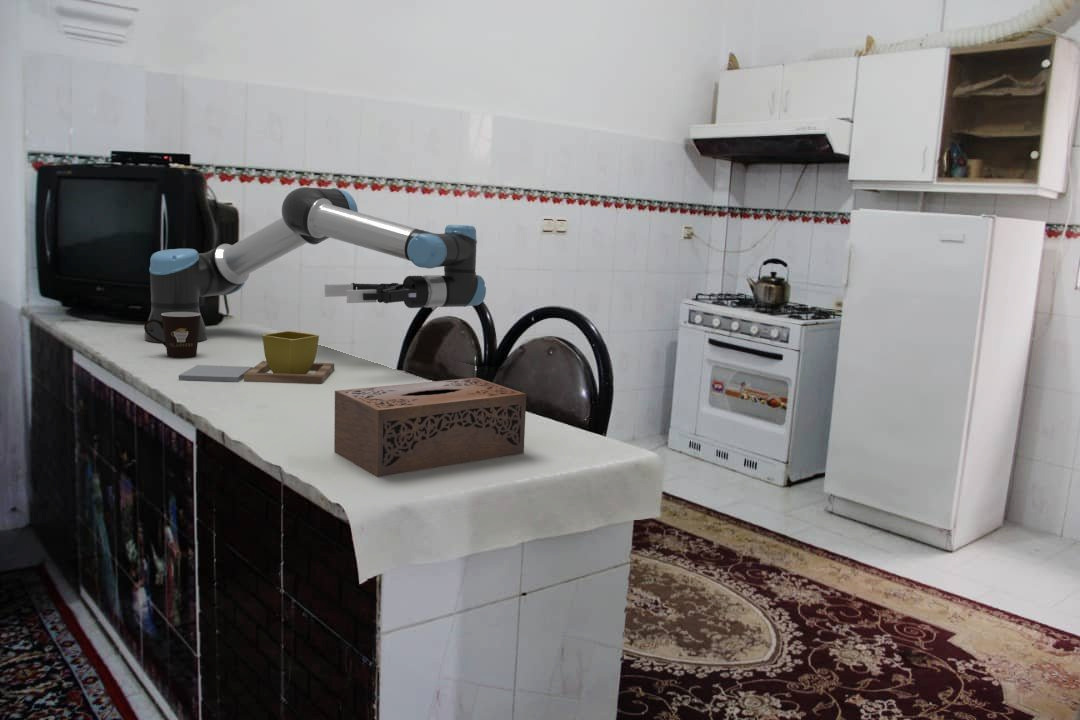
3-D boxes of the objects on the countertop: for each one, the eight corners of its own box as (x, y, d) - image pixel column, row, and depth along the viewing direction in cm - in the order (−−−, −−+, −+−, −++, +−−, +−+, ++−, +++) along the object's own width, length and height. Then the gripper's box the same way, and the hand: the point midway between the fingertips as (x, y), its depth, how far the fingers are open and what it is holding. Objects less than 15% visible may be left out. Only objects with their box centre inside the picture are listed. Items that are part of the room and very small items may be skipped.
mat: (197, 369, 196) (197, 364, 195) (252, 371, 196) (252, 366, 196) (178, 380, 184) (178, 375, 184) (237, 381, 185) (237, 377, 184)
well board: (262, 367, 201) (262, 360, 201) (334, 369, 202) (334, 363, 202) (243, 381, 186) (243, 374, 185) (321, 383, 187) (321, 376, 186)
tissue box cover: (474, 434, 153) (476, 377, 151) (523, 455, 141) (526, 393, 140) (334, 453, 137) (334, 390, 136) (377, 478, 126) (378, 410, 124)
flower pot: (320, 374, 196) (320, 334, 195) (293, 381, 188) (293, 339, 187) (288, 370, 200) (288, 330, 198) (261, 376, 192) (261, 334, 190)
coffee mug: (207, 354, 214) (207, 313, 213) (190, 360, 206) (189, 317, 204) (161, 351, 215) (160, 310, 214) (142, 357, 207) (141, 314, 205)
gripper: (447, 313, 198) (357, 317, 187) (400, 302, 219) (316, 304, 207) (448, 280, 197) (357, 281, 185) (400, 271, 217) (316, 272, 206)
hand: (335, 293), depth 196 cm, fingers open, 13 cm apart
